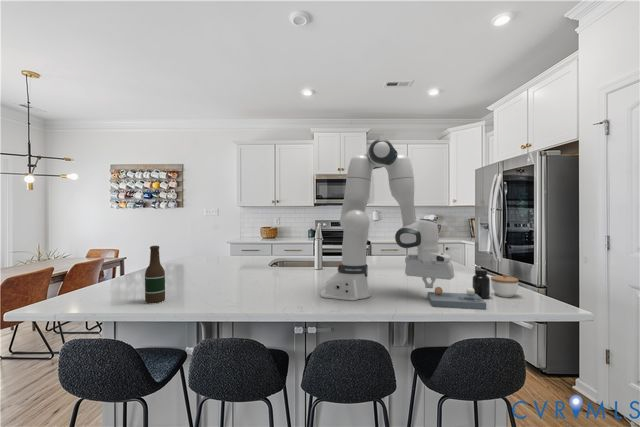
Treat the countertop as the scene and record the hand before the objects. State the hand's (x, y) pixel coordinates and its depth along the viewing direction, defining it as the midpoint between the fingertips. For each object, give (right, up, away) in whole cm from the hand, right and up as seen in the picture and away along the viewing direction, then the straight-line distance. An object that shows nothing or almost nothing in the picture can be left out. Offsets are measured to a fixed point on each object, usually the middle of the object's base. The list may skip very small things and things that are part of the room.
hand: (429, 287), depth 140 cm
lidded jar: (+35, -5, +4) cm, 36 cm away
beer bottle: (-118, -6, -1) cm, 119 cm away
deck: (+8, -5, -7) cm, 12 cm away
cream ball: (+16, -1, -4) cm, 17 cm away
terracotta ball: (+3, -1, -3) cm, 4 cm away
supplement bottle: (+23, -5, +2) cm, 24 cm away
